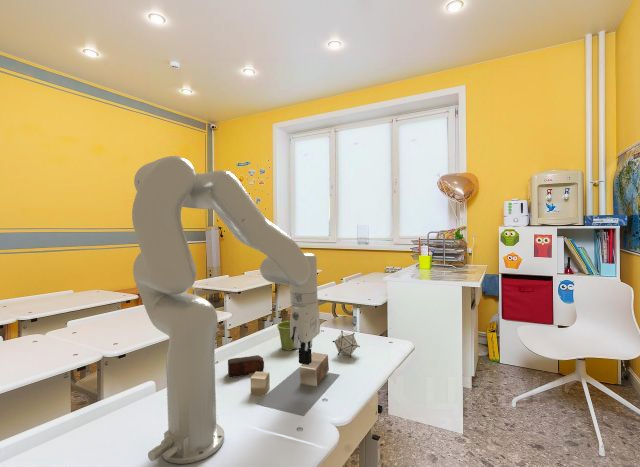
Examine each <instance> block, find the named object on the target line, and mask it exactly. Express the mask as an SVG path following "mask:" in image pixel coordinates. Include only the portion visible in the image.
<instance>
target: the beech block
mask: <svg viewBox="0 0 640 467" xmlns="http://www.w3.org/2000/svg"><path fill="white" fill-rule="evenodd" d="M270 389H271V386H270V371H268V372H267V371H262V372H255V373H252V375H251V377H250V395H251V396H252V395H253V396H263V397H264V396H265V395H266V394H268V393H269V391H270Z"/></svg>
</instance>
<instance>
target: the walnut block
mask: <svg viewBox="0 0 640 467" xmlns="http://www.w3.org/2000/svg"><path fill="white" fill-rule="evenodd" d="M311 358H312V362H311V363H310V364H309V365H305V364H300V366H299V367H298V368H300V381H301V383H302V384H307V385H312V386H317V385H318V384H319V382H320V381H321V380H322V378H323V377H324V376H325V375H326V373H327V372H328V373H329V371H330V367H329V366H330V365H329V355H328V354H326V353H319V352H311Z"/></svg>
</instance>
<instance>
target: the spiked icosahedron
mask: <svg viewBox="0 0 640 467" xmlns="http://www.w3.org/2000/svg"><path fill="white" fill-rule="evenodd" d="M355 334H356V333H355V332H353V333H347V332H344V331H343V330H341V333H340V334H339V336H338V337H337V338H336V339H335V340H332V343H334V345H335V347H336V349H337V351H338V353H337V356H339V355H340V354H341V355H344V356H349V358H352V354H354V352H355V351H356V349H357V348H360V347H361V346H360V345H358V343H357V340H356V337H355V336H354V335H355Z"/></svg>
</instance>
